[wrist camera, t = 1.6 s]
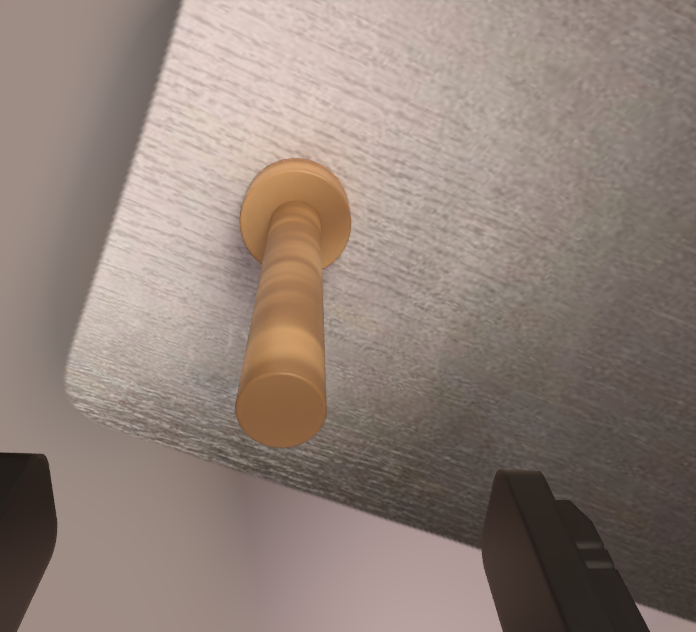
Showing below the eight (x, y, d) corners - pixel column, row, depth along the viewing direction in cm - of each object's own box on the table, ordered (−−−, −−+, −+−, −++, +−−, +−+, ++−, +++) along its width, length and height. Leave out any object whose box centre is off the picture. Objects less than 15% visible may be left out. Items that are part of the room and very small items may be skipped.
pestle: (222, 205, 28) (135, 406, 14) (300, 135, 27) (286, 281, 13) (293, 278, 29) (276, 520, 16) (370, 214, 28) (421, 417, 15)
